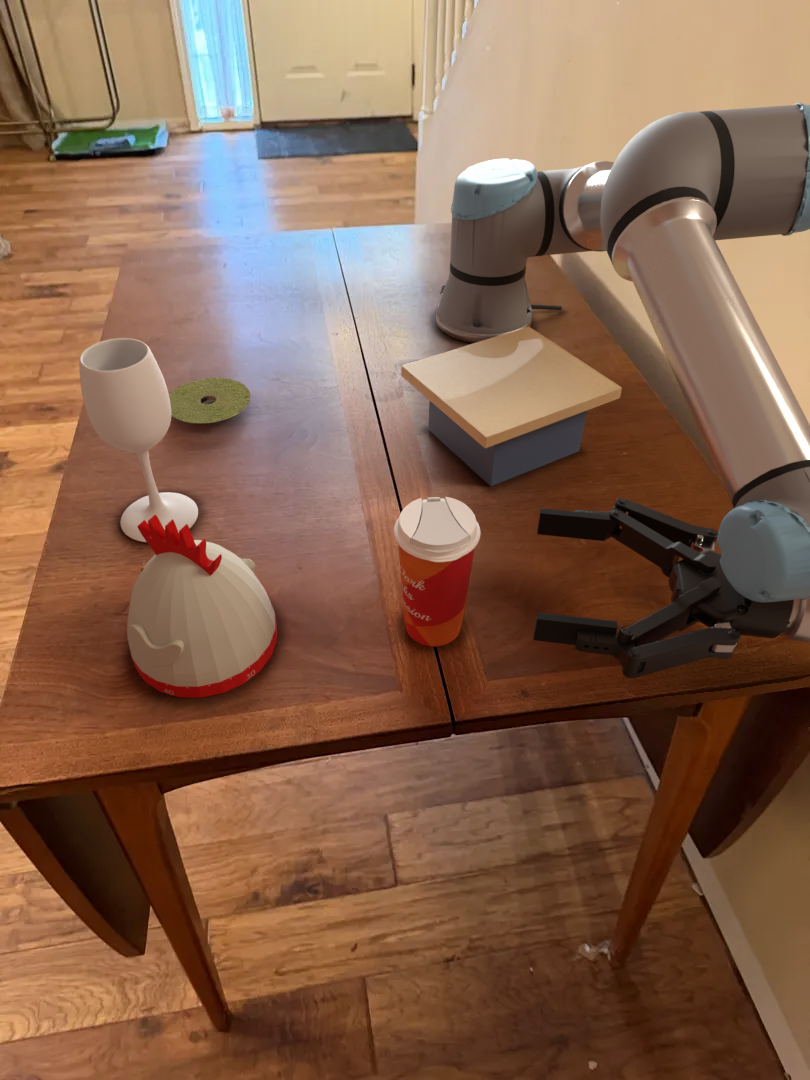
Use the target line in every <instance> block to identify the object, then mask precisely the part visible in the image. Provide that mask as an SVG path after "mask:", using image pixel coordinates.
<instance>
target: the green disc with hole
mask: <svg viewBox="0 0 810 1080" xmlns="http://www.w3.org/2000/svg"><path fill="white" fill-rule="evenodd" d="M251 398H252V397H251V392H250V389H248V387H247V386H246V385H244V383H242V382H240V381H238V380H234V379H231V378H227V377H205V378H200V379H195V380H191V381H188V382H185V383H183V384H181V385H180V386H178V387H177V388H175V389H174V390H173V391H171V393H169V399H170V404H171V417H173V418H175V419H176V420H178V421H182V422H185V423H189V424H210V423H211V424H212V423H218V422H220V421H221V422H222V421H225V420H228V419H230V418H232V417H236V416H237V415H239V414H241V412H243V411H244V410H245V409H246V408H247V407H248V406H249V403H250V402H251V401H250V400H251Z"/></svg>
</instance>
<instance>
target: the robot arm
mask: <svg viewBox="0 0 810 1080" xmlns="http://www.w3.org/2000/svg"><path fill="white" fill-rule="evenodd" d="M452 195H453V196H452V203H451V205H450V213H451V228H450V251H449V252H450V253H449V273H448V276H447V279H446V282H445V284H444V285H442V287H441V290H440V295H441V297H440V299H439V301H438V303H437V305H436V310H435V322H436V325H437V327H438V328H439V329H440V330H441V331H442V332H443V333H444V334H446V335H447V336H449V337H452V338H454V339H455V340H459V341H463V342H465V343H466V342H467V343H471V344H473V343H477V342H480V341H483V340H486V339H490V338H493V337H496V336H499V335H503V334H506V333H509V332H512V331H516V330H519V329H522V328H526V327H530V328H532V327H531V326H532V321H533V310H547V311H548V310H550V311H562V310H563V306H562V305H549V304H531V300H530V294H529V290H528V285H527V281H526V272H527V263H528V258H534V257H542V256H543V257H544V256H554V255H565V254H574V253H586V252H600V253H601V252H602V253H603V252H606V253H607V255H608V258H609V260H610V263H611V265H612V268H613V269H614V271H615V273H616V274H617V275H618V276H619V277H620V278H621V279H623V280H625V281H629V282H632V284H633V286H634V288H635V290H636V292H637V295H638V297H639V299H640V301H641V304H642V306H643V308H644V310H645V313H646V315H647V317H648V320H649V321H650V324H651V326H652V328H653V330H654V333H655V335H656V337H657V339H658V342H659V344H660V347H661V348H662V351H663V352H664V353H663V354H664V355H665V357H666V360H667V362H668V364H669V366H670V369H671V371H672V374H673V375H674V378H675V380H676V382H677V385H678V386H679V388H680V391H681V393H682V395H683V398H684V400H685V402H686V404H687V407H688V409H689V411H690V413H691V415H692V418H693V419H694V422H695V424H696V427H697V430H698V431H699V433H700V435H701V438H702V440H703V443H704V445H705V446H706V449H707V451H708V453H709V455H710V458H711V460H712V462H713V465H714V467H715V469H716V472H717V474H718V475H719V478H720V480H721V482H722V485H723V487H724V489H725V491H726V494H727V496H728V499H729V500H730V502H731V505H732V507H733V508H732V509H731V510H730V511H729V512H728V513H727V514H726V515H724V517H723V519H722V520H721V523H720V525H719V528H718V530H716V529H714V528H710V527H704V526H699V525H693V524H690V523H688V522H685V521H683V520H681V519H678V518H676V517H673V516H670V515H667V514H665V513H662V512H660V511H657V510H656V509H652V508H650V507H647V506H644V505H642V504H639V503H637V502H634V501H632V500H629V499H627V498H623V497H619V498H616V499H615V502H614V505H613V507H612V508H611V510H609V511H599V510H589V509H575V510H574V511H573V510H572V511H571V510H561V509H554V508H553V509H551V508H542V507H541V508H540V510H539V517H538V522H537V528H536V534H537V535H539V536H540V535H541V536H549V537H560V538H571V539H577V540H578V539H580V540H589V541H597V542H599V541H600V542H606V541H607V540H609V539H611V538H613V539H614V540H616V541H617V542H618V543H620V544H622V545H624V546H625V547H627V548H629V549H630V550H631V551H633V552H635V553H636V554H638V555H640V556H641V557H643V558H644V559H646V560H648V562H650V563H652V564H654V565H655V566H657V567H658V568H660V570H661V572H662V574H663V575H664V576H665V577H667V578H668V579H667V580H668V586H669V589H670V591H671V597H670V600H671V603H670V604H668V605H666V606H664V607H662V608H661V609H659V610H657V611H655V612H653V613H651V614H649V615H647V616H645V617H643V618H641V619H640V620H638V621H636V622H635V623H632V624H631V625H628V627H627V626H624V625H623V624H622V625H620V628H619V630H618V621H617V620H609V619H608V620H607V619H600V618H592V617H591V618H590V617H583V616H582V617H581V616H572V615H564V614H555V613H545V612H536V617H535V624H534V630H533V636H532V637H533V638H532V640H533V641H534V642H541V643H544V642H545V643H552V644H561V645H567V646H574V650H576V651H578V652H581V653H589V654H597V655H607V656H612V657H614V658H615V659H616V660H618V662H619V663H620V665H621V667H622V671H621V673H622V675H623V676H624V677H625V678H627V679H635V678H639V677H642V676H647V675H650V674H653V673H658V672H660V671H665V670H667V669H668V670H669V669H671V668H675V667H678V666H682V665H686V664H689V663H694V662H696V661H700V660H704V659H731V658H732V656H733V655H734V652H735V650H736V648H737V646H738V643H739V642H740V640H741V636H746V637H756V638H764V639H775V638H777V637H779V636H780V638H782V639H783V640H788V641H795V642H804V643H805V642H806V643H810V423H809V421H808V419H807V416H806V415H805V412H804V411H803V408H802V407H801V405H800V403H799V401H798V399H797V397H796V395H795V394H794V392H793V390H792V388H791V385H790V384H789V382H788V380H787V378H786V376H785V374H784V372H783V370H782V368H781V366H780V364H779V362H778V360H777V358H776V356H775V354H774V353H773V350H772V349H771V347H770V345H769V342H768V341H767V339H766V337H765V335H764V333H763V331H762V329H761V327H760V325H759V323H758V321H757V320H756V317H755V315H754V313H753V312H752V309H751V308H750V306H749V304H748V302H747V300H746V298H745V296H744V294H743V292H742V290H741V288H740V286H739V284H738V282H737V280H736V279H735V277H734V274H733V273H732V271H731V269H730V267H729V265H728V263H727V261H726V258H725V257H724V255H723V253H722V251H721V250H720V247H719V245H718V243H717V241H724V240H734V239H746V238H757V237H758V238H759V237H767V236H768V237H769V236H778V235H779V236H780V235H781V236H783V237H787V236H788V237H789V236H792V235H793V234H796V233H802V232H806V231H808V230H810V104H804V103H802V102H796V103H793V104H788V105H774V106H773V105H772V106H760V107H744V108H729V109H716V110H715V109H714V110H702V111H693V110H692V111H682V112H681V111H680V112H675V113H672V114H669V115H665V116H664V117H661V118H658V119H656V120H655V121H652V122H651V123H650V124H648V125H647V126H645V127H644V128H642V129H641V130H640V131H638V132H637V133H636V134H635V135H634V136H633V137H631V138H630V140H628V142H627V143H626V144H625V146H624V147H623V148H622V150H621V151H620V152H619V153H618V154H617V156H616V159H615V160H614V162H613V161H608V160H602V161H594V162H591V163H589V164H585V165H582V166H579V167H574V168H565V169H550V170H540V171H537V168H536V166H535V165H534V164H533V163H532V162H530V161H528V160H526V159H521V158H514V159H510V158H495V159H490V160H485V161H482V162H478V163H475V164H473V165H471V166H468V167H467V168H466V169H465V170H464V171H462V172H461V173H460V174H459V175H458V177H457V178H456V180H455V181H454V187H453V194H452ZM716 543H717V544H716ZM716 545H717V548H718V549H719V551H720V553H719V552H717V551H716ZM680 558H681V559H680ZM696 623H701V624H702V625H704V626H705V627H707V628H702V629H701V628H700V629H697V630H694V631H690V632H686V633H684V634H679V635H675V636H671V637H669V636H670V635H672V634H673V633H675V632H677V631H678V632H682V631H684V630H686V629H688V628H689V627H692V626H693V625H696ZM617 631H618V632H617ZM666 637H668V638H666Z"/></svg>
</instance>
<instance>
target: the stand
mask: <svg viewBox="0 0 810 1080" xmlns="http://www.w3.org/2000/svg"><path fill="white" fill-rule="evenodd" d="M400 369H401V370H400V373H401V374H400V375H401V377H402V378H403V379H404V380H405V381H406V382H407V383H408V384H410V385H411V386H412V387H414V388H415V389H416V390H417V391H418V392H419V393H420V394H422V396H424V397H425V398H426V399H427V400H428V403H429V404H428V431H429V432H430V433H431V434H432V435H433V436H434V437H436V438H437V439H438V440H439V441H440V443H442V444H443V445H444V446H446V447H447V448H448V449H449V451H451V452H452V453H453V454H455V455H456V457H458V458H459V460H461V461H462V462H463V463H464V464H465V465H466V466H467V467H469V468H470V469H471V470H472V471H473V472H474V473H475V474H476V475H478V477H480V478H481V479H482V480H483V481H484V482H485V483H486V484H487V485H489V487H494V486H496V485H498V484H501V483H503V482H506V481H508V480H511V479H513V478H517V477H518V476H521V475H523V474H525V473H528V472H531V471H533V470H535V469H538V468H541V467H544V466H546V465H548V464H551V463H553V462H556V461H559V460H562V459H564V458H566V457H569V456H571V455H573V454H576V453H579V452H580V449H581V445H582V439H583V434H584V429H585V425H586V418H587V413H588V411H589V410H592V409H595V408H597V407H600V406H603V405H605V404H608V403H611V402H613V401H614V402H615V401H616V400H619V399H621V395H622V390H623V387H622V386H620V385H619V384H618V383H616V382H615V381H613V380H611V379H609V378H608V377H607V376H605V375H604V374H602V373H601V372H599V371H598V370H596V369H594V368H593V367H592V366H589V364H587V363H585V362H584V361H582V360H580V359H579V358H578V357H576V356H575V355H573V354H571V353H570V352H568V351H567V350H566V349H564V348H563V347H561V346H560V345H558V344H557V343H555V342H553V341H552V340H550V339H549V338H547V337H546V336H544V335H542V334H541V333H540V332H538V331H536V330H535V329H533V328H532V327H526V328H522V329H519V330H516V331H512V332H509V333H506V334H503V335H499V336H496V337H493V338H490V339H486V340H483V341H480V342H477V343H471V344H466V345H464V346H460V347H457V348H455V349H451V350H448V351H445V352H441V353H438V354H435V355H431V356H428V357H425V358H421V359H419V360H415V361H412V362H408V363H405V364H402V365H401V366H400Z"/></svg>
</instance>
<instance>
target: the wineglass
mask: <svg viewBox="0 0 810 1080" xmlns="http://www.w3.org/2000/svg"><path fill="white" fill-rule="evenodd" d="M78 362H79V363H78V365H79V367H78V368H79V383H80V389H81V390H80V391H81V396H82V400H83V401H82V402H83V405H84V408H85V411H86V414H87V417H88V419H89V422H90V424H91V426H92V428H93V430H94V431H95V433H96V435H97V436H98V437H99V439H101V441H103V442H104V443H106V444H107V445H109V446H110V447H111V448H114V449H116V450H119V451H121V452H125V453H132V454H134V455H135V456H136V458H137V460H138V463H139V466H140V468H141V471H142V474H143V478H144V482H145V486H146V491H147V495H145V496H142V497H140V498H139V499H137V500H135V501H134V502H132V503H131V504H130V505H129V506H128V507H127V508H126V509H125V510H124V511H123V513H122V515H121V517H120V528H121V530H122V532H123V533H124V534H125V535H126V536H127V537H128V538H130V539H132V540H134V541H137V542H141V543H147V542H146V540H145V539H144V537H143V536H142V534H141V533H140V531H139V529H138V527H137V526H138V525H139V524H140V523H141V522H143V521H144V520H145V521H146V522H147V523H148V520H149V519H151V518H152V517H153V516H154V515H156V516H157V517H158V519H159V521H160V522H161V524H162V526H163V528H164V530H165V526H166V525H167V524H168V523H169V522H170V521H171V520H172V519H173V520H174V522H175V525H176V527H177V530H178V532H179V531H180V530H181V529H182V528H183V527H184V526H185V525H186V524H187V525H188V526H189V529H190V530H191V528H192V527H193V525H195V523H196V521H197V520H198V516H199V508H198V505H197V503H196V502H195V501H194V500H193V499H192V498H191V497H189V496H188V495H184V494H183V493H178V492H171V491H165V492H162V491H161V492H159V490H158V487H157V484H156V482H155V478H154V474H153V471H152V467H151V462H150V455H149V454H150V453H149V451H150V450H151V449H152V448H155V446H157V445H158V444H159V443H161V441H162V440H163V439H164V437H165V436H166V435H167V432H168V431H169V428H170V426H171V422H172V416H171V404H170V399H169V395H170V393H169V390H168V387H167V383H166V380H165V378H164V375H163V373H162V371H161V368H160V366H159V364H158V362H157V359H156V358H155V356H154V354H153V352H152V350H151V348H150V346H148V344H146V343H145V342H143V341H141V340H139V339H135V338H131V337H129V338H128V337H119V338H118V337H115V338H109V339H105V340H102V341H98V342H96V343H94V344H92V345H90V346H88V347H87V348H85V349H84V351H82V353H81V354H80V356H79V361H78Z"/></svg>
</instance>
